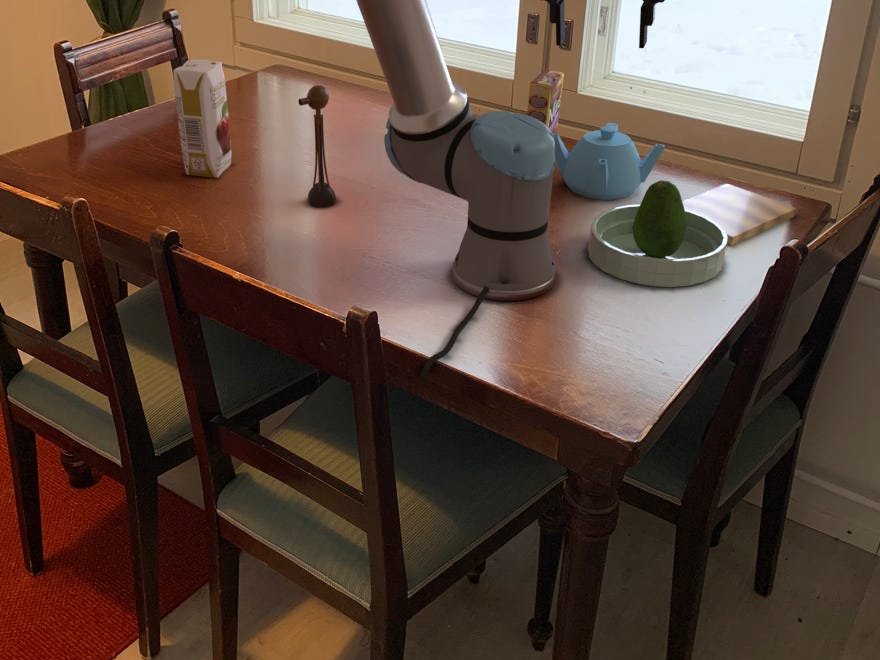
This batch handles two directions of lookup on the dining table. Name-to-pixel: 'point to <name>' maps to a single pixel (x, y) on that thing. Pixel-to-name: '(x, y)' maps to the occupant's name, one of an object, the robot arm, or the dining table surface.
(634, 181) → the teapot
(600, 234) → the bowl
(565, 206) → the dining table surface
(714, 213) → the board
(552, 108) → the candy box
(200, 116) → the juice carton
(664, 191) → the avocado
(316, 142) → the wooden tabletop sculpture
